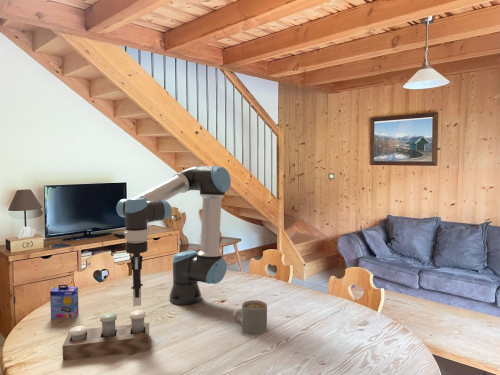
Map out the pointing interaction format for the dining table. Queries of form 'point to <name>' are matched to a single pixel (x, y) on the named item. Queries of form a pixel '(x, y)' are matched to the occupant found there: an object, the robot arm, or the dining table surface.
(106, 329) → the knob middle
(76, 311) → the ink cartridge box
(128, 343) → the panel
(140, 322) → the knob
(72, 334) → the knob
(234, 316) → the coffee mug
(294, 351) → the dining table surface
